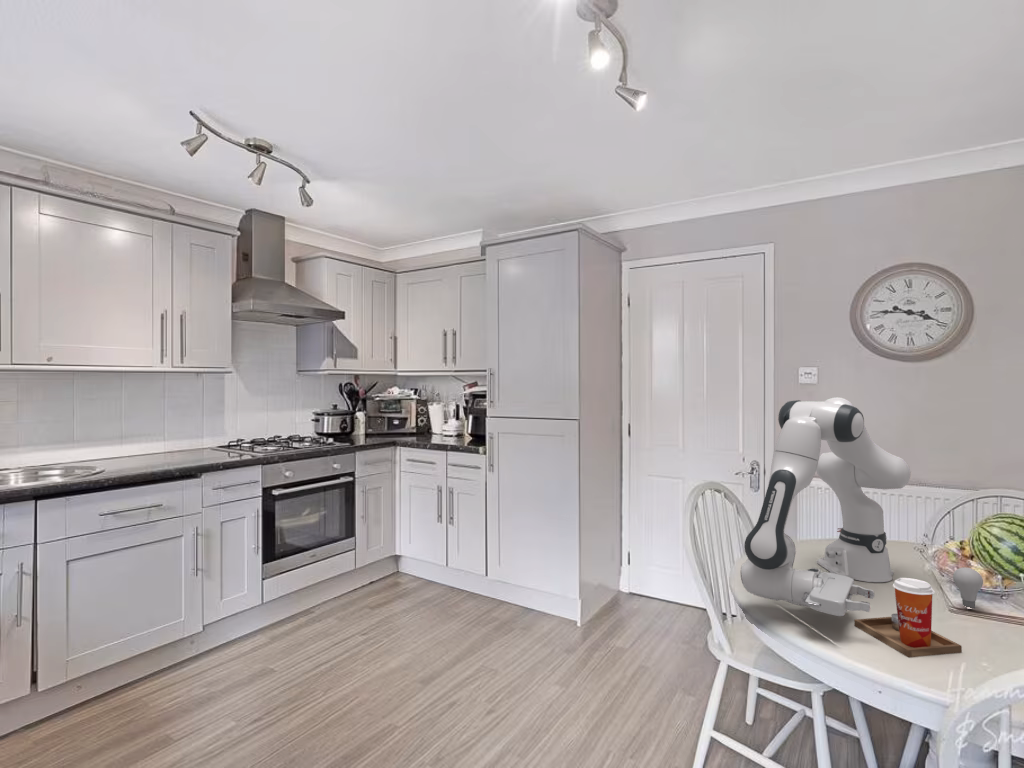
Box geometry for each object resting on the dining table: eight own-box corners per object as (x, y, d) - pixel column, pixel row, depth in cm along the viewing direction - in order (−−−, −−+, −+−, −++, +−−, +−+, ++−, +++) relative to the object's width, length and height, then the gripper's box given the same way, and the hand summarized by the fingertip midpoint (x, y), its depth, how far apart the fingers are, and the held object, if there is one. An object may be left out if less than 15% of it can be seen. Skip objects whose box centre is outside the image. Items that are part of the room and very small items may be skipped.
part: (888, 626, 132) (887, 614, 132) (901, 625, 132) (901, 613, 132) (900, 632, 128) (899, 620, 129) (913, 631, 129) (913, 619, 129)
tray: (854, 627, 133) (854, 619, 133) (902, 624, 134) (901, 615, 134) (908, 659, 117) (908, 650, 117) (961, 655, 118) (961, 645, 118)
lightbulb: (976, 605, 144) (974, 564, 144) (989, 614, 138) (987, 572, 138) (949, 603, 145) (947, 563, 146) (961, 613, 140) (960, 571, 140)
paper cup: (889, 641, 124) (886, 581, 124) (903, 632, 128) (900, 574, 129) (929, 655, 118) (926, 591, 118) (942, 644, 122) (940, 583, 122)
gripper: (799, 588, 129) (866, 601, 121) (814, 566, 145) (875, 575, 137) (799, 614, 129) (867, 629, 121) (815, 589, 145) (876, 600, 137)
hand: (871, 600), depth 129 cm, fingers open, 8 cm apart
